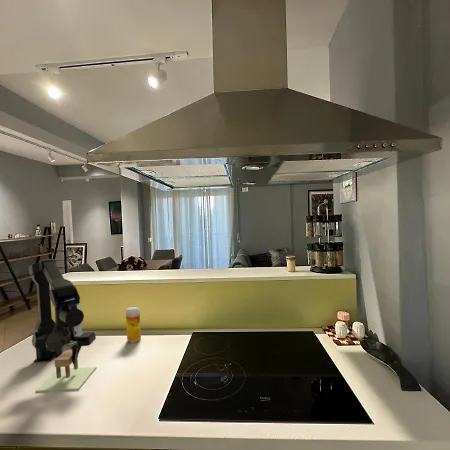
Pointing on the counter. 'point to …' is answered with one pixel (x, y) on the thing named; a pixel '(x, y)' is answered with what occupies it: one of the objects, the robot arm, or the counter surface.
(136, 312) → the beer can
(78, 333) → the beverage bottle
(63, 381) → the sage board
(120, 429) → the counter surface
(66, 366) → the walnut stool
